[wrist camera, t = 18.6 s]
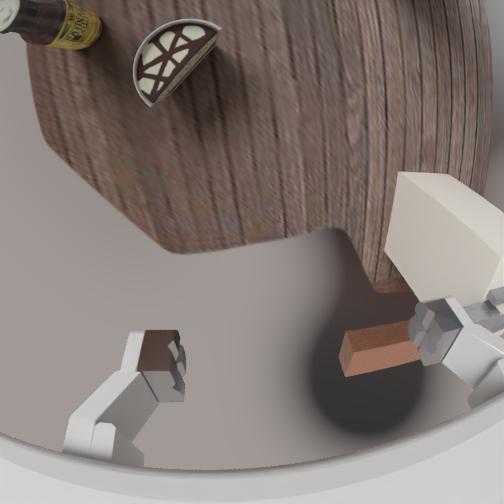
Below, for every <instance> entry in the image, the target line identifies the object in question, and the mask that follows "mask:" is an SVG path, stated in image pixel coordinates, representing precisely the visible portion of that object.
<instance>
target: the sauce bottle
mask: <svg viewBox="0 0 504 504" xmlns="http://www.w3.org/2000/svg"><path fill="white" fill-rule="evenodd" d="M101 30H102V24H101V20H100V18H99V16H97V15H96V14H95V13H93V12H91V11H89V10H87V9H84V8H82V7H80V6H77V5H75V4H73V3H70V2H68V1H65V0H36V1H34V0H3V1H1V2H0V33H3V34H5V33H8V32H16V33H19V34H20V36H21V38H22V39H23V40H24V41H26V42H28V43H31V44H38V45H41V46H51V47H58V48H66V49H73V50H77V49H85V48H87V47H89V46H91V45H92V44H93V43H95V41H96V40H97V39H98V37H99V35H100V33H101Z"/></svg>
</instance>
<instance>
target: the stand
mask: <svg viewBox="0 0 504 504" xmlns="http://www.w3.org/2000/svg"><path fill="white" fill-rule="evenodd" d="M384 251H385V252H386V254H387V255H388V256H389V258H390V259H391V261H392V262H393V263H394V265H395V266H396V267H397V269H398V270H399V272H400V273H401V274H402V276H403V277H404V279H405V280H406V282H407V283H408V284H409V286H410V287H411V289H412V290H413V292H414V293H415V295H416V296H417V297H418V299H419V301H420V302H421V301H426V300H431V299H435V298H441V297H445V296H450V295H452V296H453V297H455V298H456V300H457V301H458V302H459V304H460V305H461V306H462V307H466V306H470V305H473V304H477V303H480V302H484V301H487V300H489V301H490V302H491V304H492V305H493V306H496V308H497V309H498V310H499V311H500V313H501V314H500V316H499V318H498V319H497V321H496V323H495V324H494V326H493V328H492V329H491V331H490V332H492V333H494V334H496V335H497V336H500V335H502V334H503V332H504V213H503V212H501V211H500V210H499V209H498V208H496V207H495V206H494V205H492V204H491V203H490V202H488V201H487V200H485V199H484V198H483V197H481V196H480V195H479V194H477V193H476V192H474V191H473V190H471V189H470V188H468V187H467V186H466V185H464V184H463V183H461V182H460V181H458V180H457V179H455V178H453V177H452V176H450V175H449V174H438V173H419V172H398V176H397V183H396V190H395V196H394V202H393V208H392V214H391V219H390V224H389V229H388V234H387V239H386V244H385V249H384Z"/></svg>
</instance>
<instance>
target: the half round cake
mask: <svg viewBox="0 0 504 504" xmlns="http://www.w3.org/2000/svg"><path fill="white" fill-rule="evenodd" d="M220 30H223V28H221V27H219V26H218V25H216V24H214V23H211V22H209V21H205V20H200V19H181V20H176V21H172V22H170V23H167V24H165V25H163V26H161V27H159V28H158V29H156V30H155V31H153V32H152V33H151V34H150V35H149V36H148V37H147V38H146V39H145V40H144V42H143V43H142V44H141V46H140V48H139V49H138V51H137V54H136V56H135V59H134V65H133V79H134V84H135V87H136V90H137V92H138V93H139V95H140V97H141V98H142V99H143V101H144V102H145V103H146V104H147V105H148V106H150V107H151V108H152V105H154V104H156V103H157V102H159V101H161V100H162V99H164V98H166V97H167V96H169V95H171V94H172V93H173V92H174V91H175V89H176V88H177V87H178V86H179V85H180V84H181V82H182V81H183V80H184V79H185V78H186V77H187V76H188V75H189V73H190V72H191V71H192V70H193V69H194V68H195V67H196V66H197V65H198V64H199V63H200V61H201V60H202V59H203V58H204V57H205V56H206V55H207V54H208V53H209V52H210V51H211V50H212V49H213V48H214V47H215V46H216V45H217V40H218V36H219V32H220Z"/></svg>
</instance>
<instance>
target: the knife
mask: <svg viewBox="0 0 504 504" xmlns="http://www.w3.org/2000/svg"><path fill="white" fill-rule="evenodd" d="M462 308H463V309H464V311H465V312H466V313H467V315H468V316H469V317H470V319H471V320H472V322H473V323H474V324H479V325H480V326H482V327H484V328H485V329H487V330H489V331H491V329H492V328H493V326H494V324H495V323H496V321H497V319H498V318H499V316H500V314H501V313H500V311H499V310H498V309H497V308H496V306H493V305H492V304H491V302H490V301H489V300H487V301H484V302H480V303H477V304H473V305H470V306H466V307H462ZM409 322H410V320H407V321H402V322H397V323H392V324H387V325H382V326H377V327H371V328H366V329H360V330H354V331H348V332H346V333H345V337H344V341H343V344H342V348H341V351H340V355H339V359H340V362H341V365H342V368H343V371H344V374H345V377H348V376H353V375H358V374H362V373H367V372H372V371H376V370H380V369H385V368H389V367H393V366H397V365H401V364H404V363H408V362H412V361H415V360H419V359H420V357H419V355H418V353H417V351H418V347H417V346H416V345H414V344H412V342H411V340H410V337H409V334H408V325H409Z"/></svg>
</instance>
